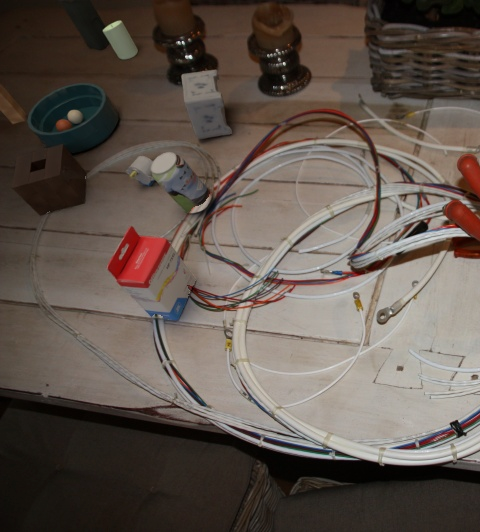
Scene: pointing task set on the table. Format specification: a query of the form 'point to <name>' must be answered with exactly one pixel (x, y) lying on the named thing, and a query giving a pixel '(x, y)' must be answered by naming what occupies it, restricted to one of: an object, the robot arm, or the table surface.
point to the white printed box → (205, 104)
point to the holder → (49, 179)
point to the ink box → (152, 274)
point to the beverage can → (179, 181)
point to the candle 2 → (120, 40)
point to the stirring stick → (10, 107)
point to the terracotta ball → (63, 125)
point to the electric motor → (141, 170)
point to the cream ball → (75, 116)
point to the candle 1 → (87, 22)
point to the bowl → (80, 135)
